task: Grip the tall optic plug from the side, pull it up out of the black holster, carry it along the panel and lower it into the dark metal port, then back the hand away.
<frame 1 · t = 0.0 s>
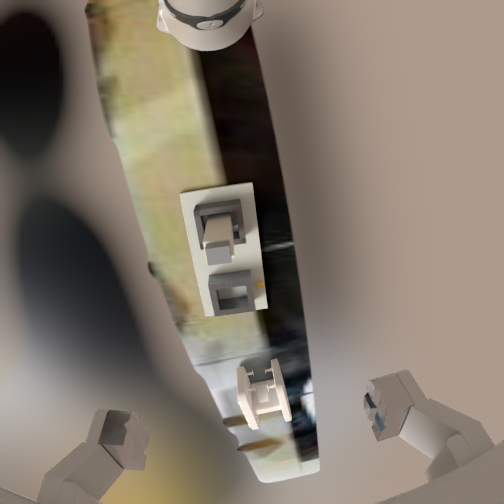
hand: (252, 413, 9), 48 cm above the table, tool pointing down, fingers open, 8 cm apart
optic plug: (220, 220, 55), point 1 cm above the table, touching panel
panel: (226, 253, 59), on the table
cable organizer: (261, 377, 73), on the table
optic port: (232, 287, 61), resting on panel
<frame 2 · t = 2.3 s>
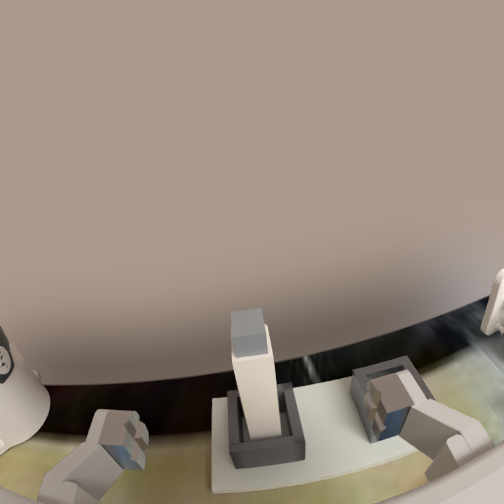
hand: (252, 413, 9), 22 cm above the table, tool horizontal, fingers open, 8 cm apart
optic plug: (266, 435, 29), point 1 cm above the table, touching panel
panel: (329, 428, 29), on the table
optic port: (387, 408, 29), resting on panel
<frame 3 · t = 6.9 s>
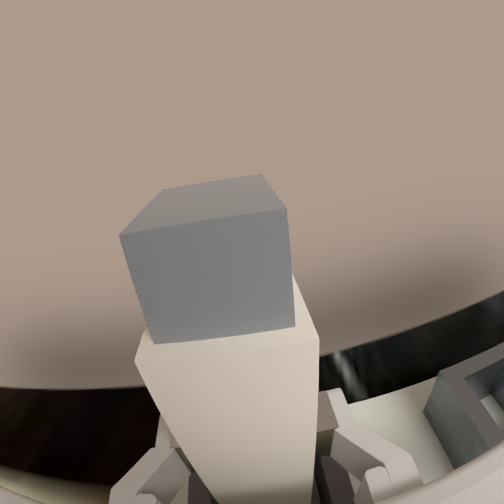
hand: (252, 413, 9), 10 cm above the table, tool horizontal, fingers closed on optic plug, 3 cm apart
panel: (392, 482, 12), on the table
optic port: (487, 433, 12), resting on panel
when the fingers open (10 cm above the table, at t = 12.0 s): optic plug stays where it is, resting on panel.
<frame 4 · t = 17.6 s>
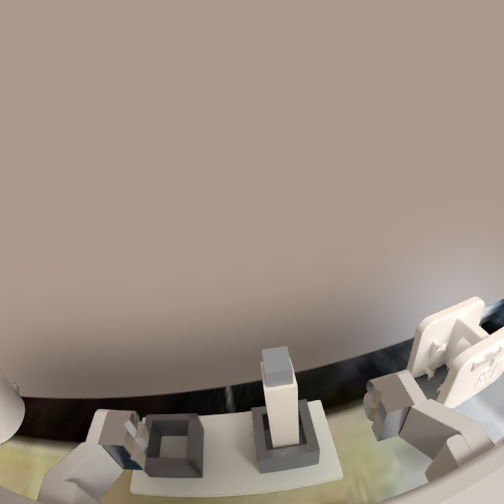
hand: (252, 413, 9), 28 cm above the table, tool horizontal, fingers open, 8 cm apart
optic plug: (284, 444, 33), point 1 cm above the table, touching panel
panel: (231, 454, 33), on the table
cable organizer: (454, 381, 37), on the table
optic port: (285, 444, 33), resting on panel
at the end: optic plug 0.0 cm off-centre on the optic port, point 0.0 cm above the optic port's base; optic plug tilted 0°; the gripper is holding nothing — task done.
